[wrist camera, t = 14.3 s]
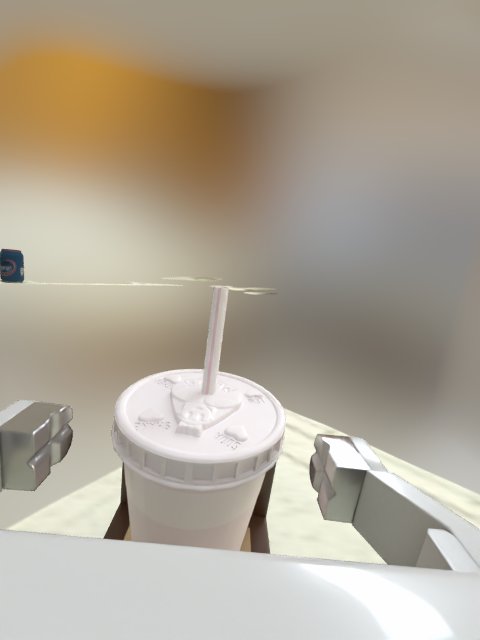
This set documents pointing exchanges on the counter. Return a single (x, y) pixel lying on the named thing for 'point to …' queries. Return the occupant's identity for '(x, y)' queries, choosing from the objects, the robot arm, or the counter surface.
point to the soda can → (11, 266)
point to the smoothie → (196, 449)
